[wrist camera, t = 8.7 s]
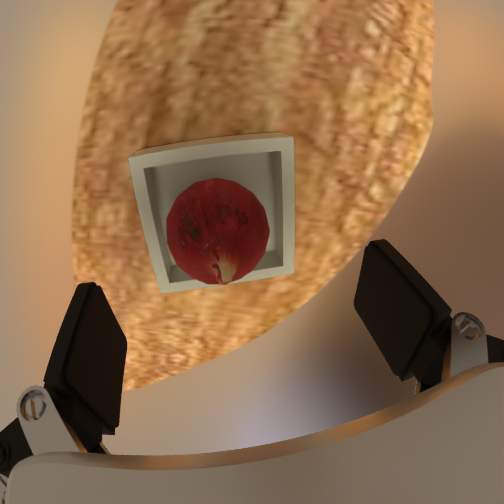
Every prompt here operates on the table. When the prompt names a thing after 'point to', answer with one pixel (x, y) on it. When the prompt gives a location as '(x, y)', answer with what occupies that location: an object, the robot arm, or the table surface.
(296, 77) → the table surface
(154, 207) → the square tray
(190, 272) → the onion
